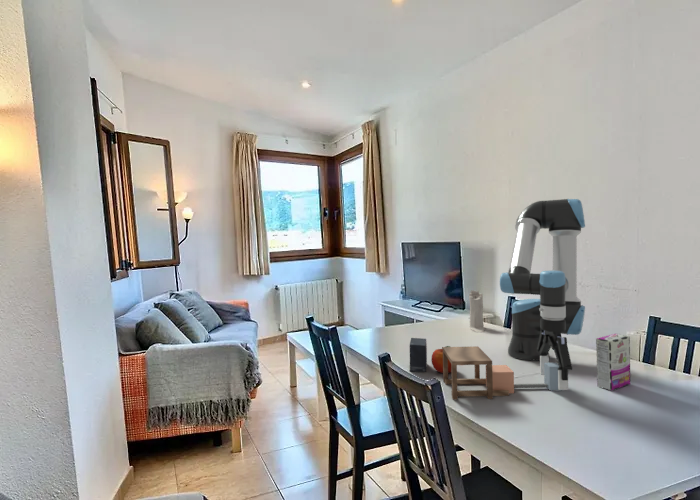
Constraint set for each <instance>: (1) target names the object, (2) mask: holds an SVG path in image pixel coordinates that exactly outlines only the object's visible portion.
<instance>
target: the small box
mask: <svg viewBox="0 0 700 500" xmlns="http://www.w3.org/2000/svg"><path fill="white" fill-rule="evenodd" d="M427 344H428V343H427V338H421V337H420V338H417V337H411V338H410V342H409V372H418V373H419V372H421V373H426V372H427V363H428V346H427Z"/></svg>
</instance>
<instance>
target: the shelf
mask: <svg viewBox="0 0 700 500" xmlns="http://www.w3.org/2000/svg"><path fill="white" fill-rule="evenodd" d="M442 347H443V373H442V375H443V378H442V379H443V380H442V381H443V383H445V385H451V394H450V395H451V398H452V400H458V397H486V398H487V399H488V400H494V397H506V396H507V397H508V396H510V393H509V390H493V380H492V365H493V360H492V359H491V357H489V356H488V355H487V354H486V353H485V351H483V350H482V349H481V347H479V346H478V345H477V346H450V347H446V346H442ZM448 359H449V361H450V362H451V371H452V372H451V378H449V373H448ZM482 365H483V366H484V365H485V370H486V369H487V386H486V389H483V390H482V389H480V390H479V389H475V390H471V389H470V390H466V389H465V390H458V385H486V377H485V378H483V377H481V375H480V374H481V373H480V372H481V371H480V368H481V367H480V366H482ZM458 366H474V378H458Z"/></svg>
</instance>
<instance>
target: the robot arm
mask: <svg viewBox="0 0 700 500" xmlns="http://www.w3.org/2000/svg"><path fill="white" fill-rule="evenodd" d="M583 208H584V207H583V204H582V201H581V200H580V199H579V198H564V199H550V200H537V201H534V202H532V203H530V204H529V205H527V206H526V207H525V208H524V209H522V211H521V212H520V213H519V215H518V217H517V219H516V221H515V225H514V227H515V230H516V234H515V238H514V243H513V247H512V252H511V257H510V260H509V261H510V263H509V267H508V272H502V273H501V274H500V277H499V288H500V291H501V292H502V293H504V294H512V295H515V294H517V295H535V296H536V295H537V296H539V298H528V299H527V298H526V299H519V300H516V301H514V302H513V303H512V305H511V307H512V308H511V326H512V327H511V329H512V330H511V331H512V332H511V333H512V336H511V339H510V341H509V342H510V343H509V345H508V346H507V347H508V348H507V354H508V355H509V356H510V357H512V358H514V359H519V360H522V361H524V360H525V361H539V375H540V376H544V363H550V358H549V357H550V353H549V352H550V350H553V352H554V354H555V358H556V362H557V363H558V365H559V368H558V389H559V390H562V391H569V371H572V370H573V365H572V360H571V356H570V352H569V348H568V347H569V346H568V339H567V337H565V336H562V335H570V336H571V335H572V336H573V335H575V336H578V335H580V334H581V333H582V330H583V326H584V320H585V313H586V312H585V311H586V306H584V305H583V304H582V301H581V299H580V298H578V295H577V294H578V293H577V291H578V290H577V288H578V287H577V282H578V281H577V280H578V279H577V278H578V277H577V271H578V270H577V269H578V267H577V264H578V263H577V256H578V255H577V254H578V253H577V251H578V250H577V243H578V241H577V238H578V236H579V235H580V234H581V233H582V229H584V228H585V227H586V221H585V215H584V214H585V213H584V209H583ZM541 229H544V230H545V229H548V234H550V235H551V236H552V270H542V271H541V272H540V273H533V272H532V273H531V271H532V264H533V259H534V258H533V257H534V252H535V246H536V240H537V235H538V233H540V231H541Z"/></svg>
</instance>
